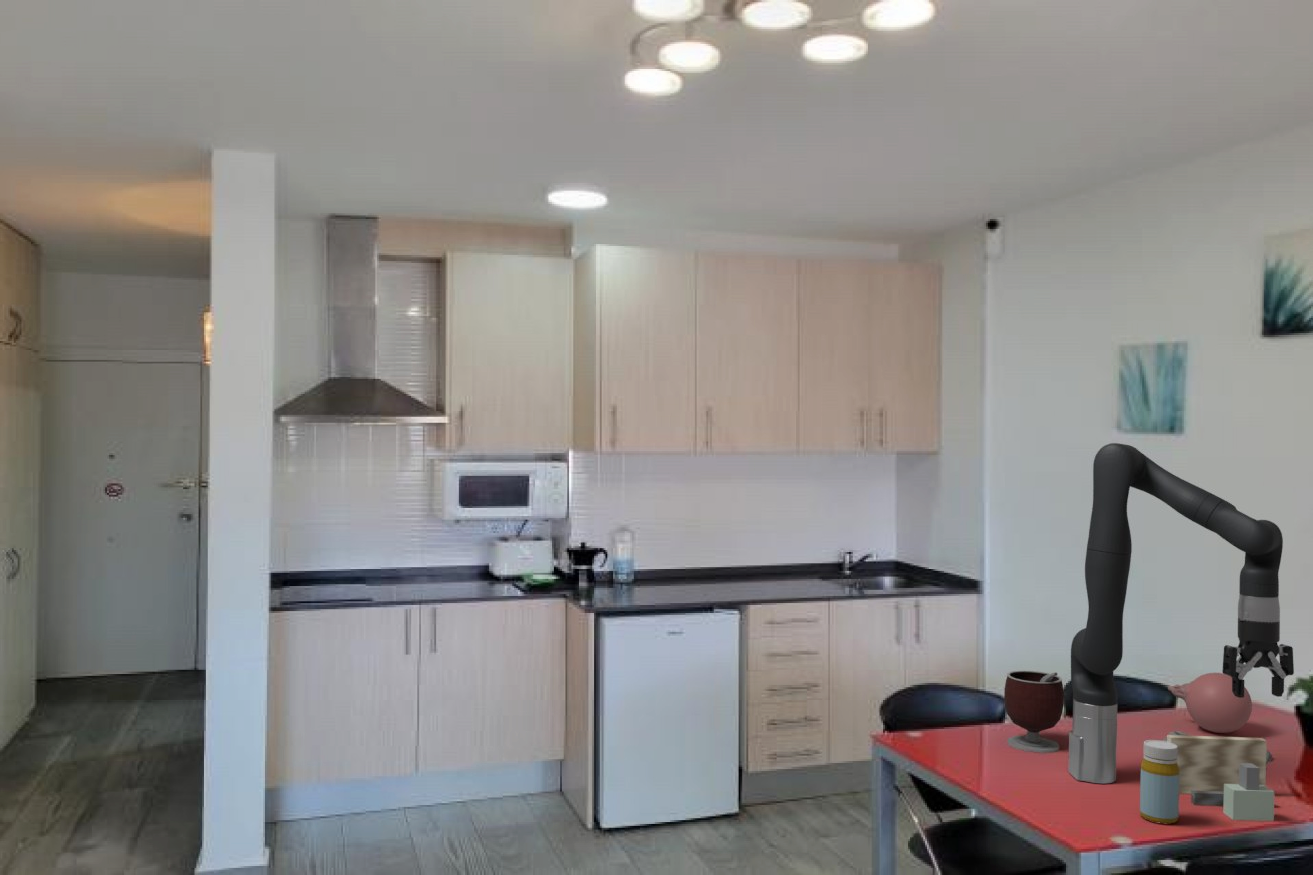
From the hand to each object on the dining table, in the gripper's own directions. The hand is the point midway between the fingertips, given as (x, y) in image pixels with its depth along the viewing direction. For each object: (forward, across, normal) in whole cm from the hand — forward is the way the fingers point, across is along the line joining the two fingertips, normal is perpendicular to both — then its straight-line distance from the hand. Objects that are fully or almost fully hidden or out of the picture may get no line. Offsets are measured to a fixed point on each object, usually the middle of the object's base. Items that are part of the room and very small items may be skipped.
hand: (1257, 696), depth 217 cm
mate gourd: (+24, +24, -48) cm, 58 cm away
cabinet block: (+24, +3, +2) cm, 24 cm away
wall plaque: (+24, -16, -36) cm, 46 cm away
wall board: (+24, +1, -9) cm, 25 cm away
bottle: (+24, +23, +1) cm, 33 cm away
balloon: (+24, -30, -58) cm, 70 cm away
